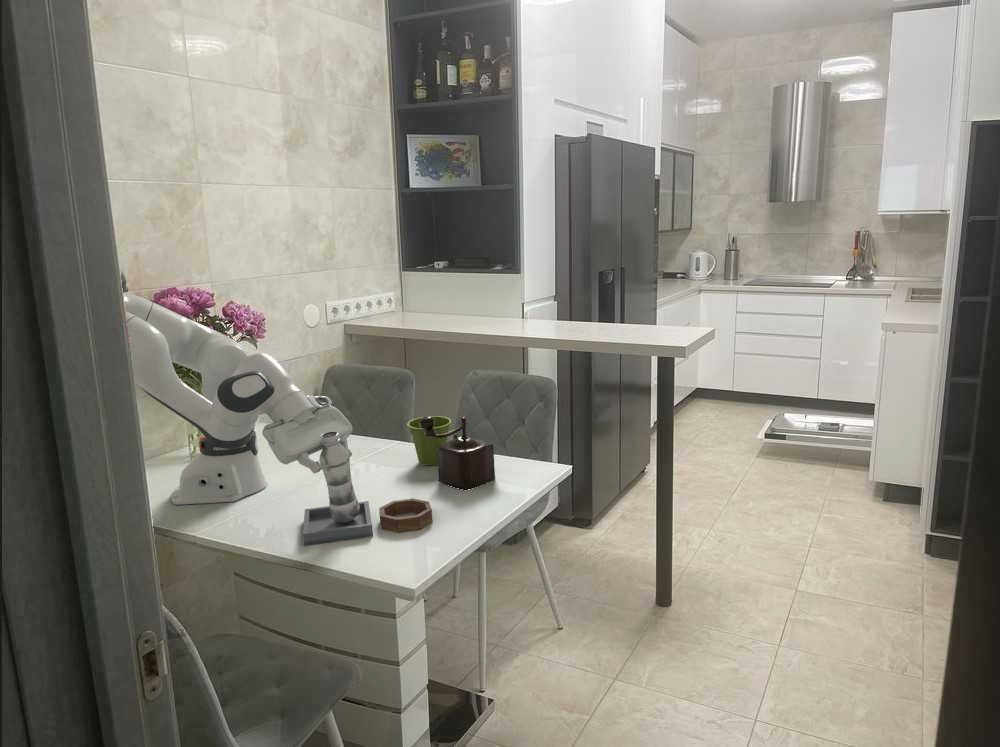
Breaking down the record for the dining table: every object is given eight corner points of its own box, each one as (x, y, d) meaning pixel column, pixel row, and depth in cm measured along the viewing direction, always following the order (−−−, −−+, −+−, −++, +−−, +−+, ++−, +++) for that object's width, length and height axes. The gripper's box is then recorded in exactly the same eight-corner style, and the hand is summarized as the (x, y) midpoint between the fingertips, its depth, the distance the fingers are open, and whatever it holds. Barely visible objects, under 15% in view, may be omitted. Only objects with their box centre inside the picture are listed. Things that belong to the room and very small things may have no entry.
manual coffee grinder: (466, 470, 193) (462, 403, 189) (496, 479, 185) (492, 409, 182) (420, 487, 182) (414, 417, 179) (450, 498, 175) (445, 424, 171)
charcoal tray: (304, 546, 152) (302, 534, 152) (305, 520, 166) (304, 509, 165) (373, 536, 155) (372, 524, 155) (369, 511, 169) (368, 501, 168)
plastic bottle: (332, 529, 158) (314, 443, 152) (331, 516, 165) (314, 432, 159) (362, 523, 159) (345, 437, 154) (360, 509, 166) (344, 426, 160)
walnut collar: (382, 535, 156) (381, 521, 155) (379, 515, 166) (378, 502, 166) (434, 528, 158) (433, 514, 157) (427, 509, 168) (427, 496, 168)
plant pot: (401, 464, 200) (397, 424, 198) (430, 452, 209) (428, 414, 207) (433, 472, 193) (430, 430, 191) (462, 459, 202) (460, 419, 200)
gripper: (264, 418, 149) (306, 470, 147) (333, 395, 167) (371, 441, 164) (251, 437, 152) (291, 488, 150) (320, 412, 170) (357, 458, 167)
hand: (334, 463), depth 157 cm, fingers open, 8 cm apart
